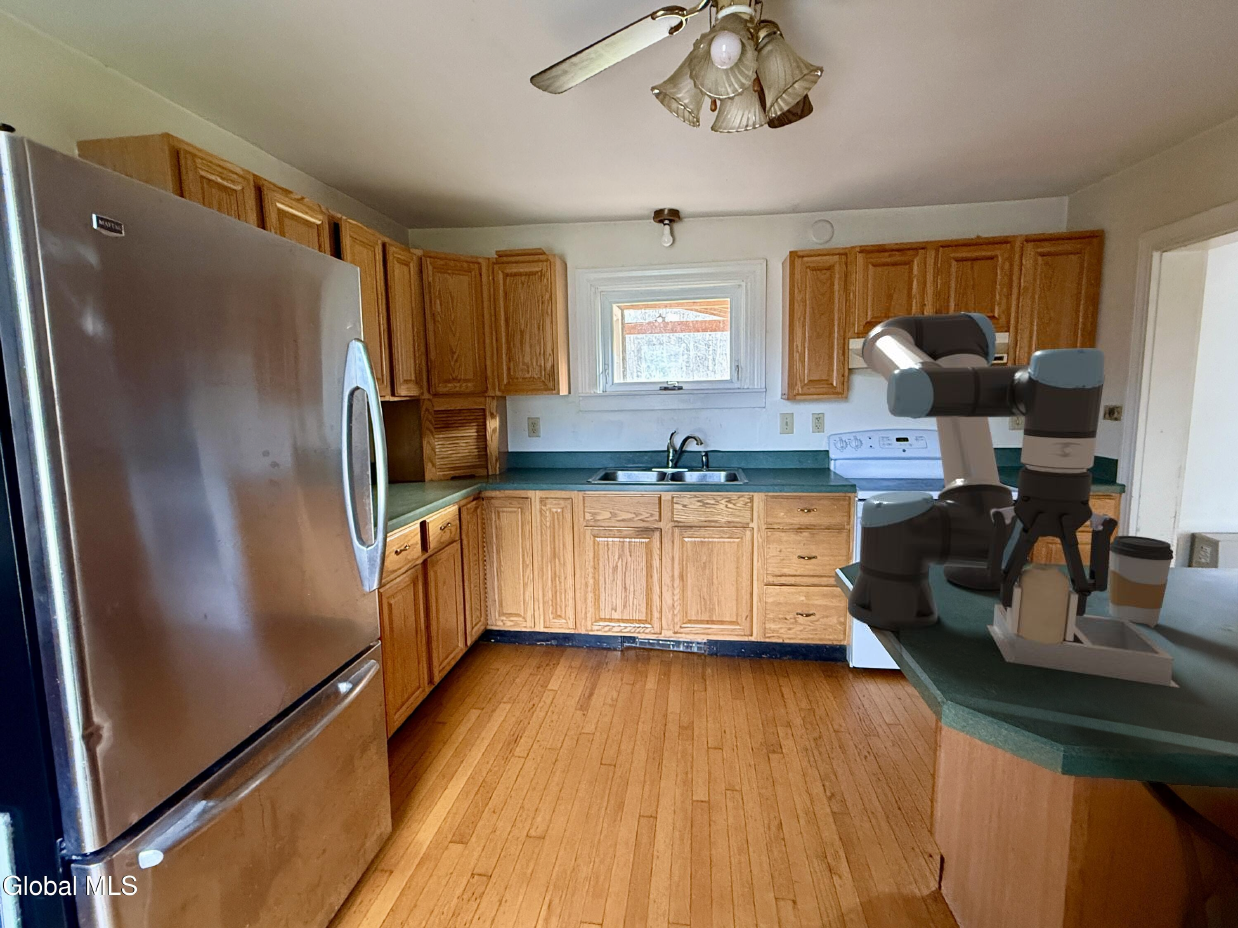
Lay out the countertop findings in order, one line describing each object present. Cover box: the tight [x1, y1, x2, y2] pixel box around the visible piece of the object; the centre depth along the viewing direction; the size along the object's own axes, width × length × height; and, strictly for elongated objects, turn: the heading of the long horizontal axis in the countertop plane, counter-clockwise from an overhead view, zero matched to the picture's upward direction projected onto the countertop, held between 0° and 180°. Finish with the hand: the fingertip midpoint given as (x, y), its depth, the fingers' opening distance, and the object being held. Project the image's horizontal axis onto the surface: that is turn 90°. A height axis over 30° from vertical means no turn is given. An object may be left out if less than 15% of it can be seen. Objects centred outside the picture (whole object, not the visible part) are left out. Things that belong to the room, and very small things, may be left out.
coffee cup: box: [1108, 535, 1174, 629], centre depth 98 cm, size 8×8×15 cm
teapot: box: [942, 558, 1030, 590], centre depth 120 cm, size 19×15×10 cm
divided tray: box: [986, 603, 1181, 688], centre depth 85 cm, size 20×14×5 cm
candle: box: [1017, 561, 1071, 644], centre depth 75 cm, size 6×6×10 cm
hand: (1038, 632), depth 76 cm, fingers closed on candle, 5 cm apart
